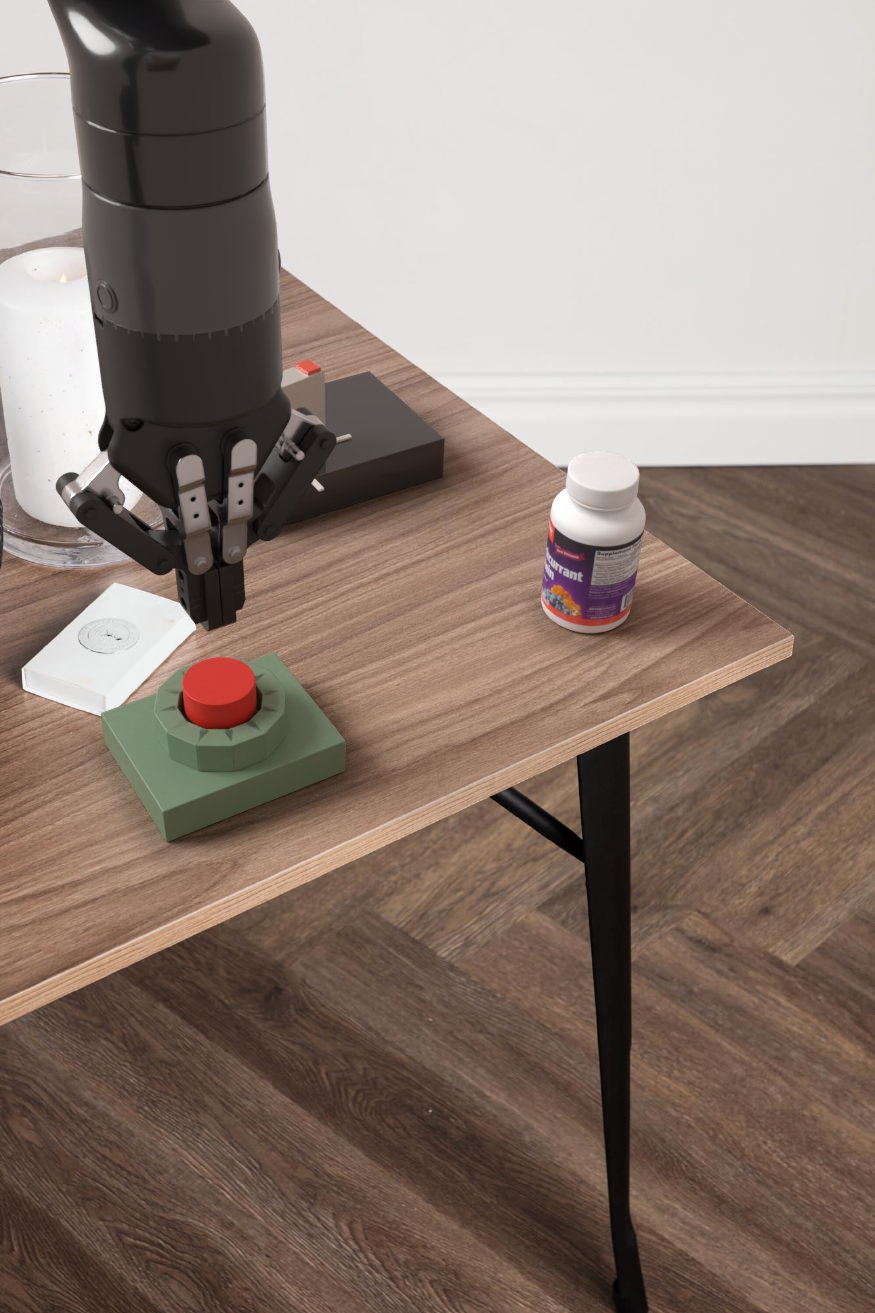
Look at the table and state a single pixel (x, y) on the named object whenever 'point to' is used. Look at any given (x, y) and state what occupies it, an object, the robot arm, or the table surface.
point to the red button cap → (219, 693)
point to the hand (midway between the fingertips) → (212, 618)
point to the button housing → (222, 751)
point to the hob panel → (370, 447)
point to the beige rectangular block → (306, 387)
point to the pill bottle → (594, 544)
